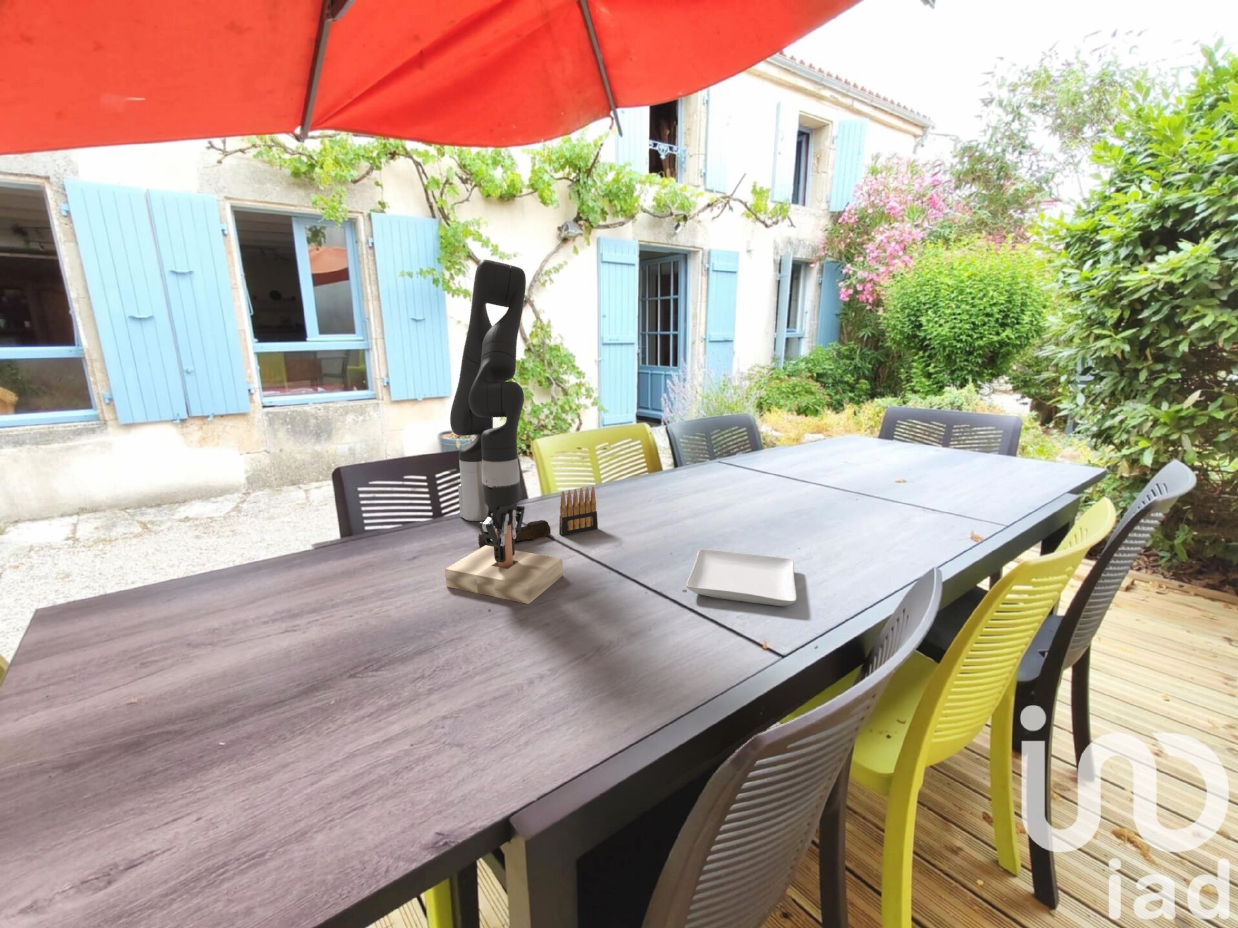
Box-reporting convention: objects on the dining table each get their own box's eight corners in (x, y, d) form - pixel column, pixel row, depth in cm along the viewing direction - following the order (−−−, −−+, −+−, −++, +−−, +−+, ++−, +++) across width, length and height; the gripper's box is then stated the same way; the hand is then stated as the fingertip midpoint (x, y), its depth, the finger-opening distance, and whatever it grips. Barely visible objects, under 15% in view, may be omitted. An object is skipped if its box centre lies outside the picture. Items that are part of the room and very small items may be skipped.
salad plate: (792, 570, 123) (793, 556, 122) (795, 616, 103) (797, 599, 102) (698, 560, 129) (699, 546, 128) (684, 601, 109) (684, 586, 108)
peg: (495, 571, 115) (493, 526, 113) (504, 565, 118) (501, 522, 116) (508, 573, 114) (505, 528, 112) (515, 567, 117) (513, 523, 115)
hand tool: (482, 553, 132) (481, 535, 131) (477, 547, 136) (476, 529, 135) (554, 539, 142) (554, 522, 141) (548, 534, 145) (548, 517, 144)
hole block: (446, 586, 114) (445, 568, 113) (486, 561, 127) (485, 545, 126) (528, 604, 107) (528, 585, 106) (562, 575, 120) (562, 558, 119)
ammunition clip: (594, 527, 150) (594, 484, 147) (598, 529, 148) (597, 486, 145) (559, 534, 144) (558, 490, 142) (562, 536, 143) (561, 492, 140)
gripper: (504, 470, 119) (508, 544, 123) (464, 486, 107) (469, 568, 111) (534, 473, 117) (537, 549, 121) (496, 490, 104) (501, 574, 108)
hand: (505, 558), depth 116 cm, fingers closed on peg, 3 cm apart
